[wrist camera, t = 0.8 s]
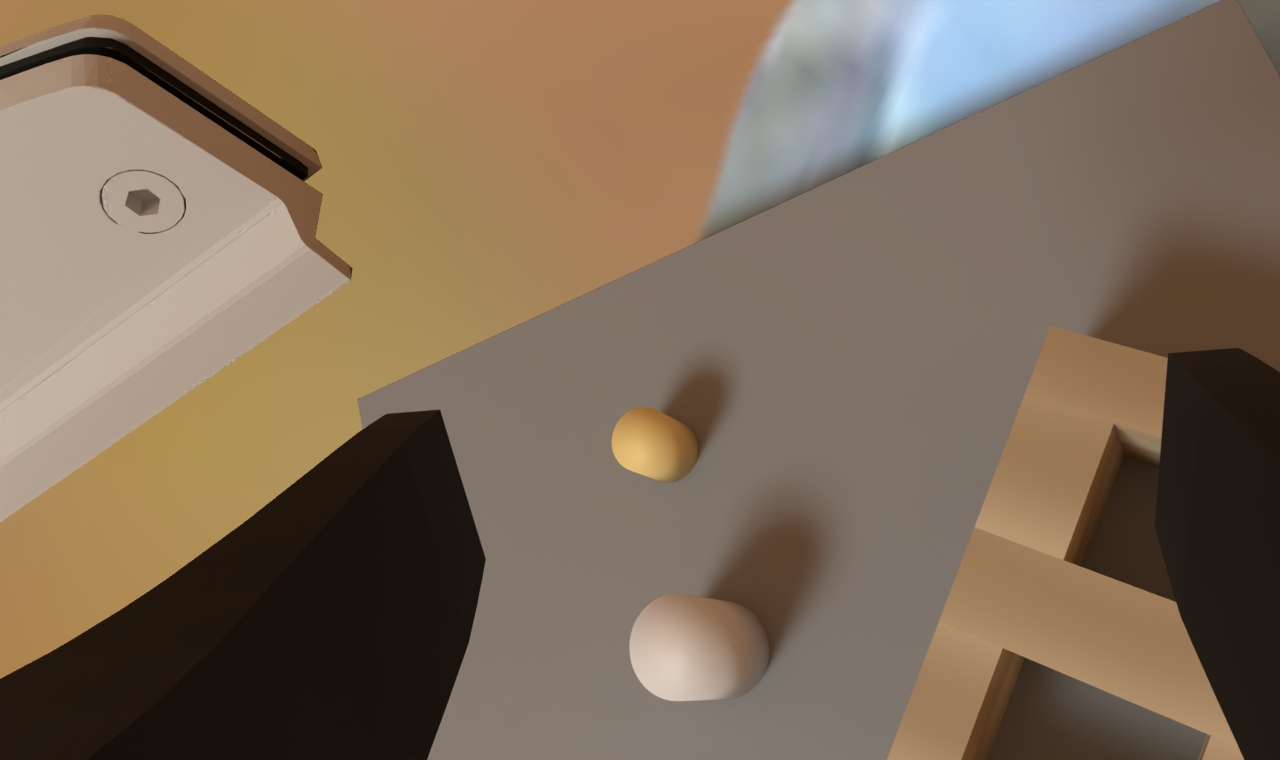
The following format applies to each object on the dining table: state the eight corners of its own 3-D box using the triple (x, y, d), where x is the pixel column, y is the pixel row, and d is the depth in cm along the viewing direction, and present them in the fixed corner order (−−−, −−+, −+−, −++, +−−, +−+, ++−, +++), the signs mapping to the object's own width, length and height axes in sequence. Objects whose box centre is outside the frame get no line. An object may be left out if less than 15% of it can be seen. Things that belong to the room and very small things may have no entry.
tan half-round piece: (-23, 538, 37) (-370, 387, 30) (3, 431, 40) (-306, 272, 34) (362, 273, 33) (54, 24, 26) (356, 176, 36) (82, -68, 29)
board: (1916, 1281, 16) (2122, 1454, 12) (573, 1395, 23) (462, 1524, 20) (1232, 32, 24) (1237, -80, 20) (392, 410, 31) (290, 376, 27)
